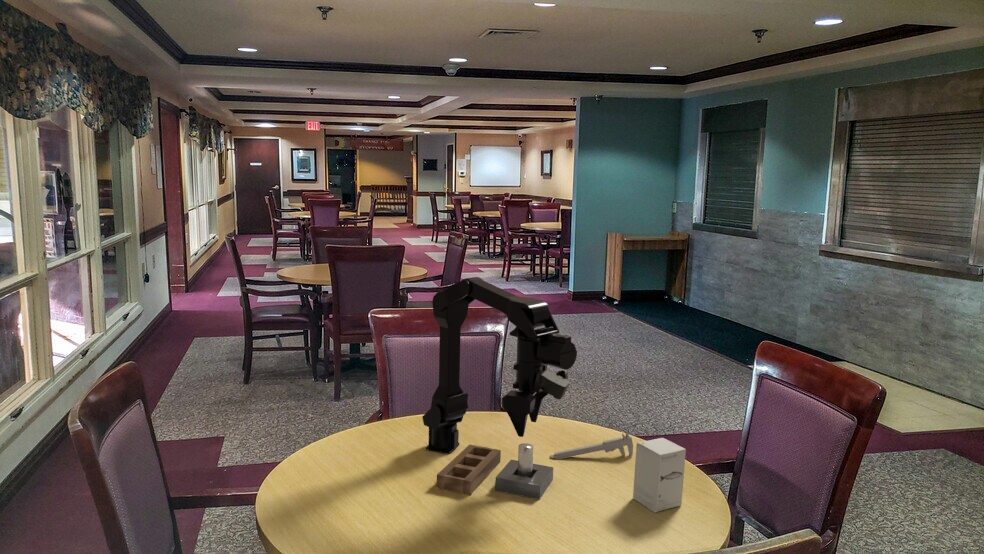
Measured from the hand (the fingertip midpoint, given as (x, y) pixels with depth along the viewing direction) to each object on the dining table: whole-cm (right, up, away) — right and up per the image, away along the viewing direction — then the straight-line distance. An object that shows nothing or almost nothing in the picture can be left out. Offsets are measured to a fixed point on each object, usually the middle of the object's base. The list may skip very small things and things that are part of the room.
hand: (527, 428), depth 148 cm
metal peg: (-1, -13, +2) cm, 13 cm away
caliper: (+16, -11, +18) cm, 27 cm away
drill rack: (-13, -12, +6) cm, 18 cm away
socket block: (-1, -13, +2) cm, 13 cm away
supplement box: (+27, -15, -4) cm, 31 cm away
